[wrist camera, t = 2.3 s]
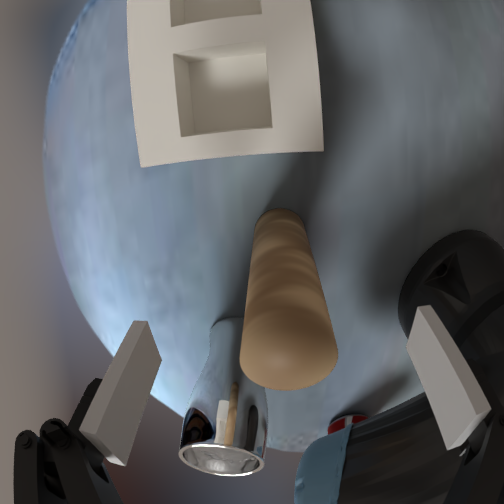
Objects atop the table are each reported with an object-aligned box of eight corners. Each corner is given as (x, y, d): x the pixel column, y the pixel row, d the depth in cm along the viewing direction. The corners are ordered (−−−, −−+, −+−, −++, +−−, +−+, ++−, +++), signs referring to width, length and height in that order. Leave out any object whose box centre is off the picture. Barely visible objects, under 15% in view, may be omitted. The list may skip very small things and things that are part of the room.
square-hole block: (292, -35, 15) (297, -66, 10) (311, 143, 22) (323, 151, 18) (153, -16, 16) (128, -39, 11) (166, 156, 23) (141, 167, 19)
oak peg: (304, 207, 25) (342, 320, 11) (304, 253, 27) (332, 387, 13) (252, 209, 25) (233, 326, 12) (256, 256, 27) (244, 391, 14)
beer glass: (222, 364, 34) (203, 477, 20) (194, 322, 31) (157, 444, 17) (278, 351, 32) (279, 473, 19) (255, 305, 30) (245, 439, 16)
